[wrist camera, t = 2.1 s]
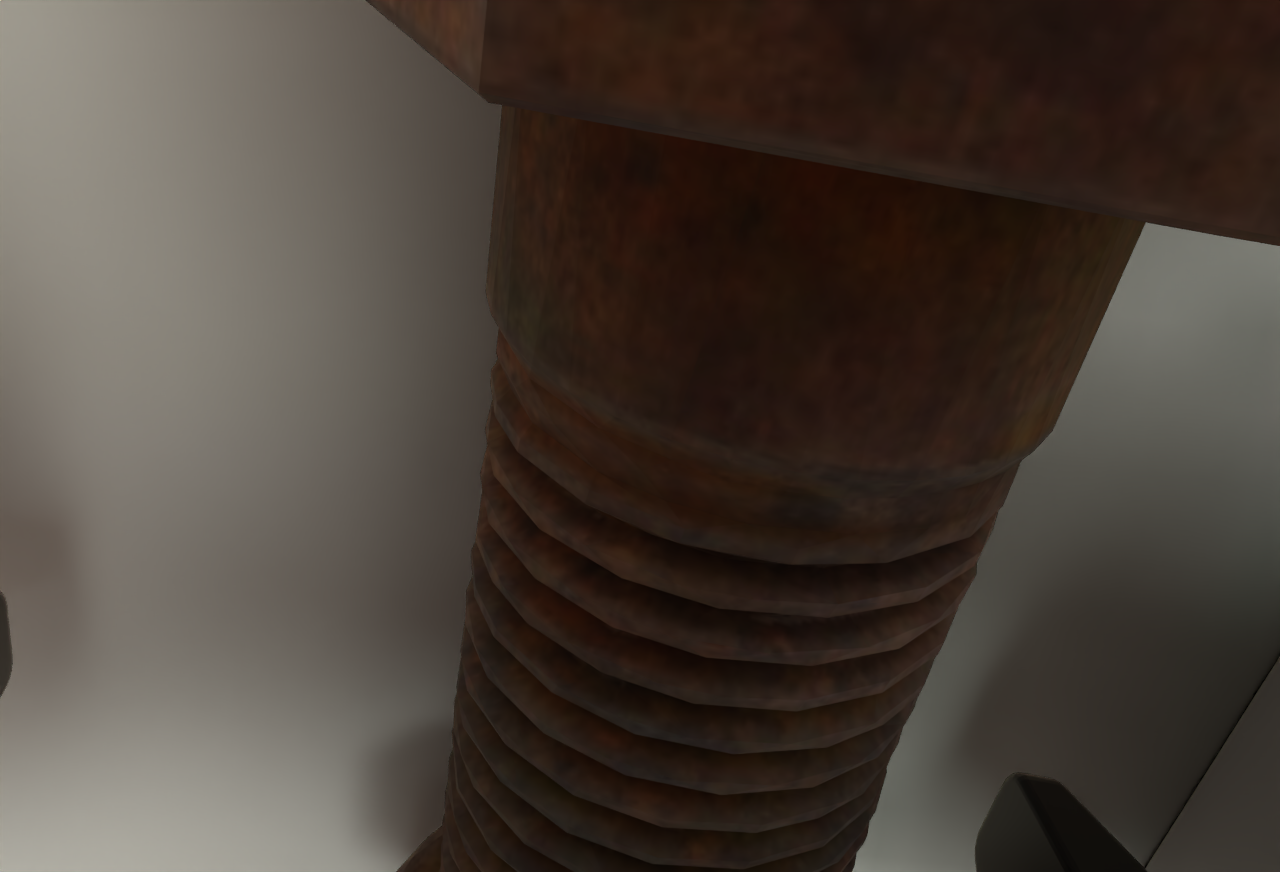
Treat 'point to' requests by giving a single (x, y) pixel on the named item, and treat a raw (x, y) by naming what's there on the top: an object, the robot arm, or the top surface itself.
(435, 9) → the bolt
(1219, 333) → the top surface
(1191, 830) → the parts tray
